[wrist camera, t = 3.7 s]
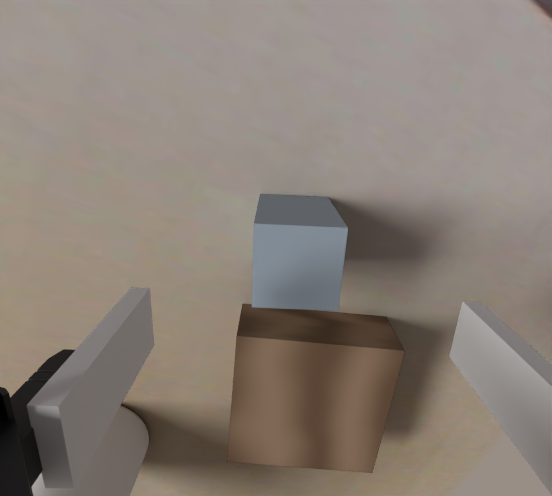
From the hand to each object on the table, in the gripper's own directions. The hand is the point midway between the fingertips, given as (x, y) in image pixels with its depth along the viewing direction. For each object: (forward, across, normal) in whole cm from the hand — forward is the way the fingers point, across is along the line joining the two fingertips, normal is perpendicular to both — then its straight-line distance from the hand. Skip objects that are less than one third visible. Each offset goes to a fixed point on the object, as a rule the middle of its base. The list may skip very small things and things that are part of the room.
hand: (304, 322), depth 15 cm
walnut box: (+14, +2, -12) cm, 19 cm away
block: (+13, 0, 0) cm, 13 cm away
